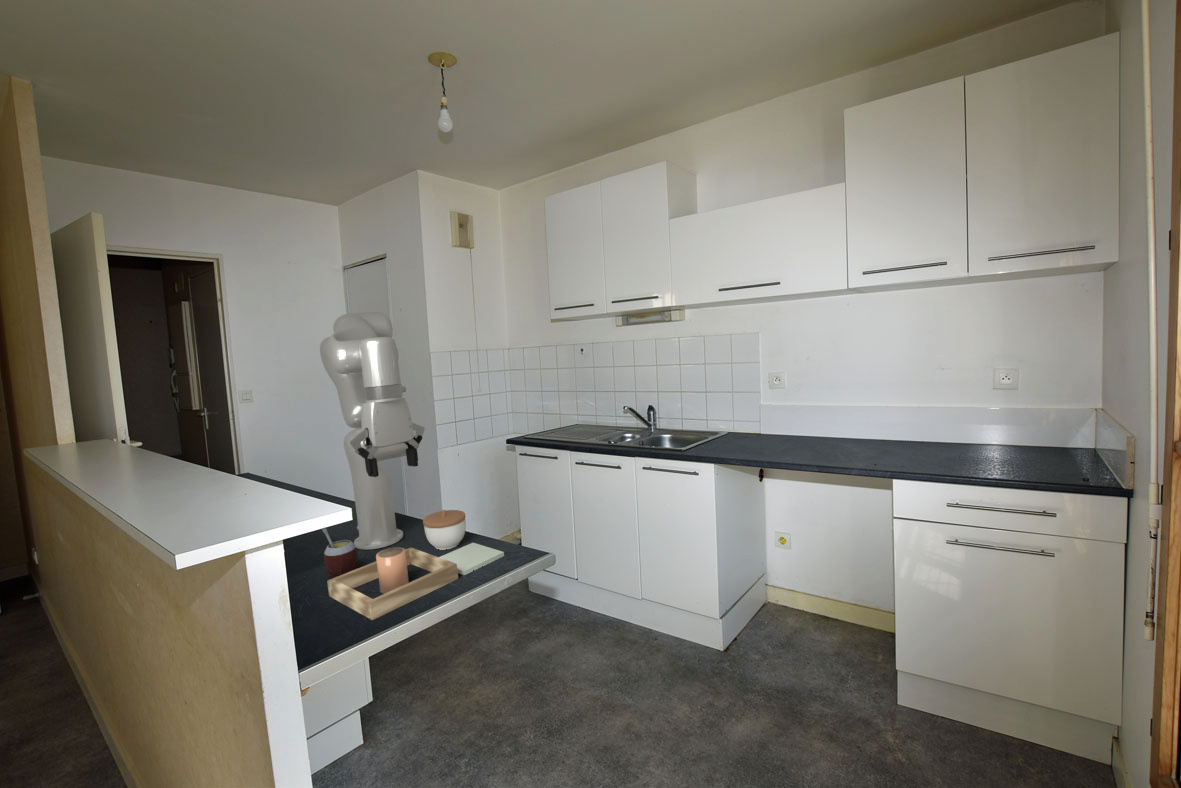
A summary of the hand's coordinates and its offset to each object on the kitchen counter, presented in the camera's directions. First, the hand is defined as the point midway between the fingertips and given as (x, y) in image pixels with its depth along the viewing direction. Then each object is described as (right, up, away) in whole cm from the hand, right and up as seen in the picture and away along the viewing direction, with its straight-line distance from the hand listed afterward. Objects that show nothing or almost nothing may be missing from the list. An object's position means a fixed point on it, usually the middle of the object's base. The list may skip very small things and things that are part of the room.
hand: (393, 471), depth 119 cm
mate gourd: (-15, -26, +7) cm, 31 cm away
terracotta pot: (0, -26, 0) cm, 26 cm away
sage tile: (+14, -23, +12) cm, 29 cm away
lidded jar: (+6, -23, +22) cm, 32 cm away
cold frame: (0, -26, 0) cm, 26 cm away
